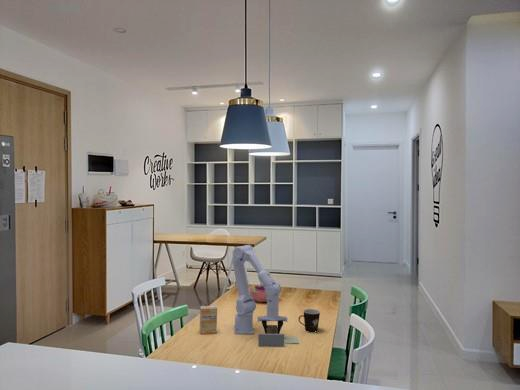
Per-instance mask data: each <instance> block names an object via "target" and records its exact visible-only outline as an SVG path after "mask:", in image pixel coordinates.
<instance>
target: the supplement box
mask: <svg viewBox="0 0 520 390" xmlns="http://www.w3.org/2000/svg"><path fill="white" fill-rule="evenodd" d="M199 307H200V308H199V333H200V335H208V334H217V332H218V331H217V328H218V307H217V305H201V306H199Z"/></svg>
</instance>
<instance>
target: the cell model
mask: <svg viewBox="0 0 520 390" xmlns="http://www.w3.org/2000/svg"><path fill="white" fill-rule="evenodd" d="M248 290H249V294H250V295H251V296H252V297H253V300H254V301H255V302H259V303H265V302H266V303H267V296H266V294H265V287H264V286H263V285H255V286H252V287H250V288H248Z"/></svg>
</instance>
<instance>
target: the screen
mask: <svg viewBox="0 0 520 390" xmlns="http://www.w3.org/2000/svg"><path fill="white" fill-rule="evenodd" d="M284 337H285V333H279V334H265V333H258V345H257V346H258V347H285V344H284Z"/></svg>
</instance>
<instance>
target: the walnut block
mask: <svg viewBox="0 0 520 390" xmlns="http://www.w3.org/2000/svg"><path fill="white" fill-rule="evenodd" d="M267 334H278V324H267Z"/></svg>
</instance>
